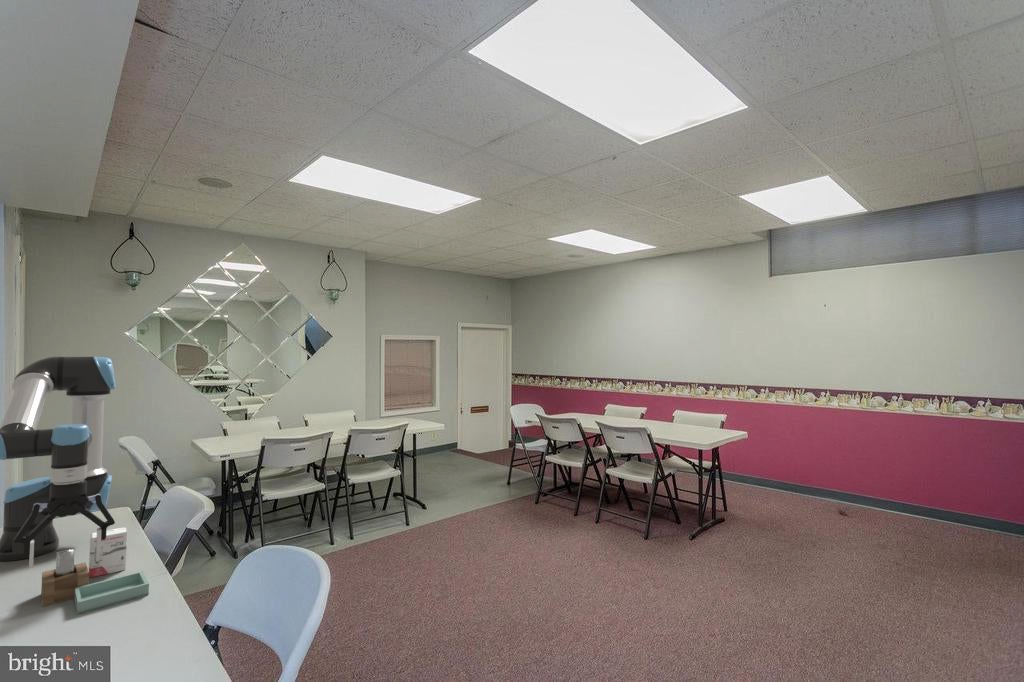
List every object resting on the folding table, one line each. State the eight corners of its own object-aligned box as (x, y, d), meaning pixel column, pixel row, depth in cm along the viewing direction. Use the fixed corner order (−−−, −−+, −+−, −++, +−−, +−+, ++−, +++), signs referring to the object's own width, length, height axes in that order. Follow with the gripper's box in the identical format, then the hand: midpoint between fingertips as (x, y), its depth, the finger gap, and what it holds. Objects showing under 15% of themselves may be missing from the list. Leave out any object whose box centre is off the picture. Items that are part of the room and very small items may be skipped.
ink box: (88, 578, 142) (90, 537, 142) (88, 572, 145) (89, 533, 146) (126, 570, 147) (127, 531, 148) (125, 564, 151) (126, 526, 151)
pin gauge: (54, 594, 132) (56, 550, 132) (72, 590, 135) (73, 546, 135) (55, 599, 130) (57, 554, 130) (73, 594, 132) (75, 550, 132)
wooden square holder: (41, 594, 132) (42, 572, 132) (84, 583, 139) (85, 562, 139) (42, 606, 126) (43, 583, 126) (87, 594, 132) (88, 572, 132)
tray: (74, 599, 130) (74, 587, 130) (141, 581, 140) (142, 571, 140) (77, 614, 122) (77, 602, 122) (148, 594, 133) (148, 583, 133)
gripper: (2, 493, 122) (-1, 578, 121) (128, 476, 139) (125, 550, 139) (3, 486, 127) (0, 568, 126) (124, 471, 145) (121, 542, 144)
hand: (66, 558), depth 133 cm, fingers open, 13 cm apart
